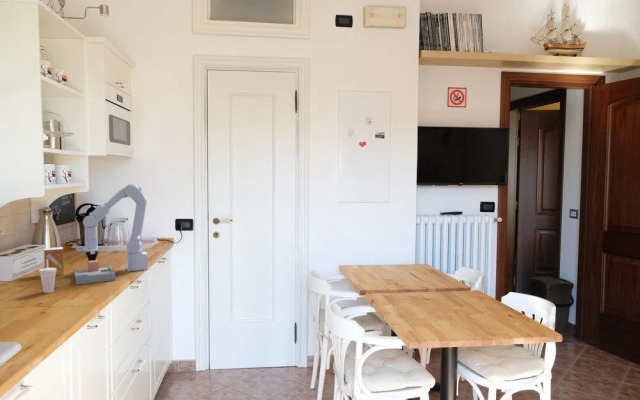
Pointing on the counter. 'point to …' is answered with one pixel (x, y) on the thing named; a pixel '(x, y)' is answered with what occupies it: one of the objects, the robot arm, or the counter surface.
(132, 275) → the counter surface
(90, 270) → the block
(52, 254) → the small box
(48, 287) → the smoothie
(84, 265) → the counter surface
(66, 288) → the counter surface
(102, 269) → the trap board
